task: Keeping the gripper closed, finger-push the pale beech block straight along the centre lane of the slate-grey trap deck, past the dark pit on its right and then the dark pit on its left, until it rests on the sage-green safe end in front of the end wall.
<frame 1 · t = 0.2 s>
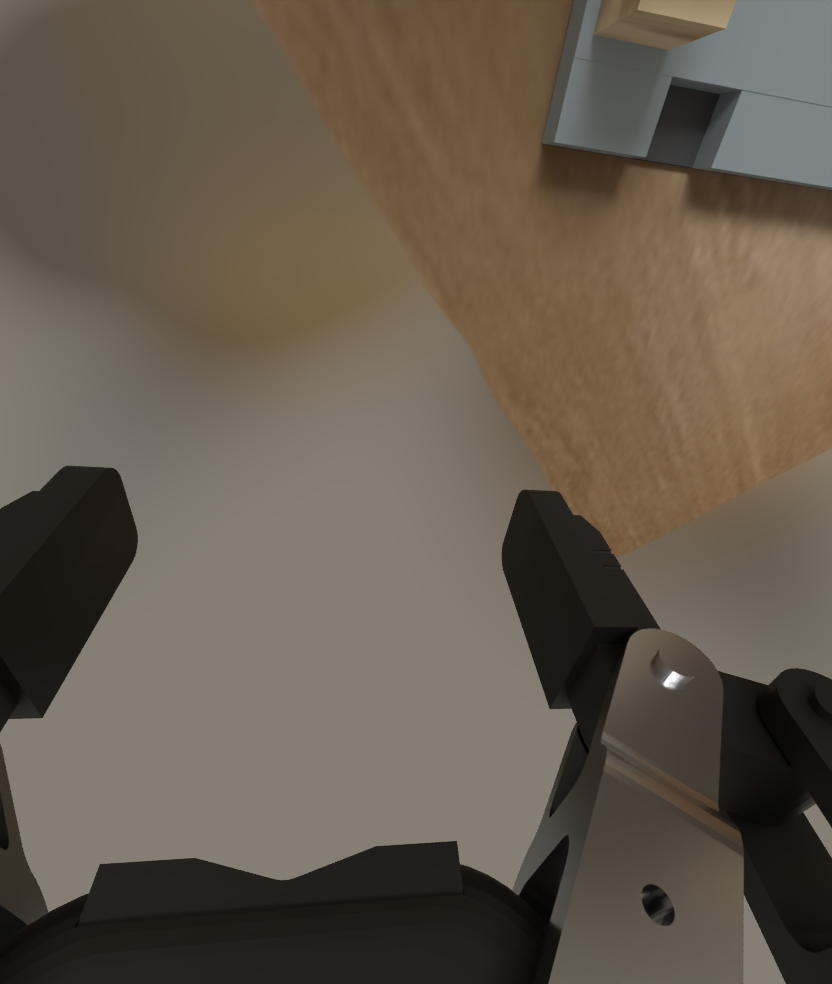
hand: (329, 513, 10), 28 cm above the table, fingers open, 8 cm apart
trap deck: (796, 33, 27), on the table
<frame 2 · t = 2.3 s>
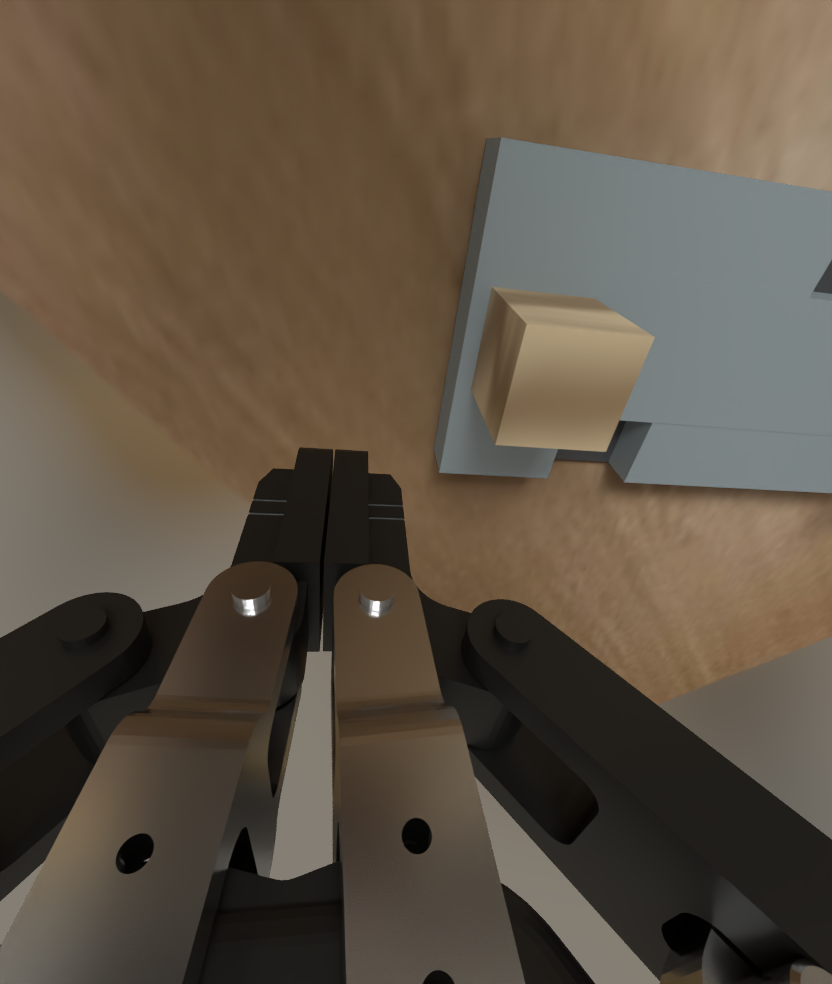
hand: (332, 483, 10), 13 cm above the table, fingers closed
beech block: (529, 346, 20), point 2 cm above the table, touching trap deck
trap deck: (717, 349, 24), on the table
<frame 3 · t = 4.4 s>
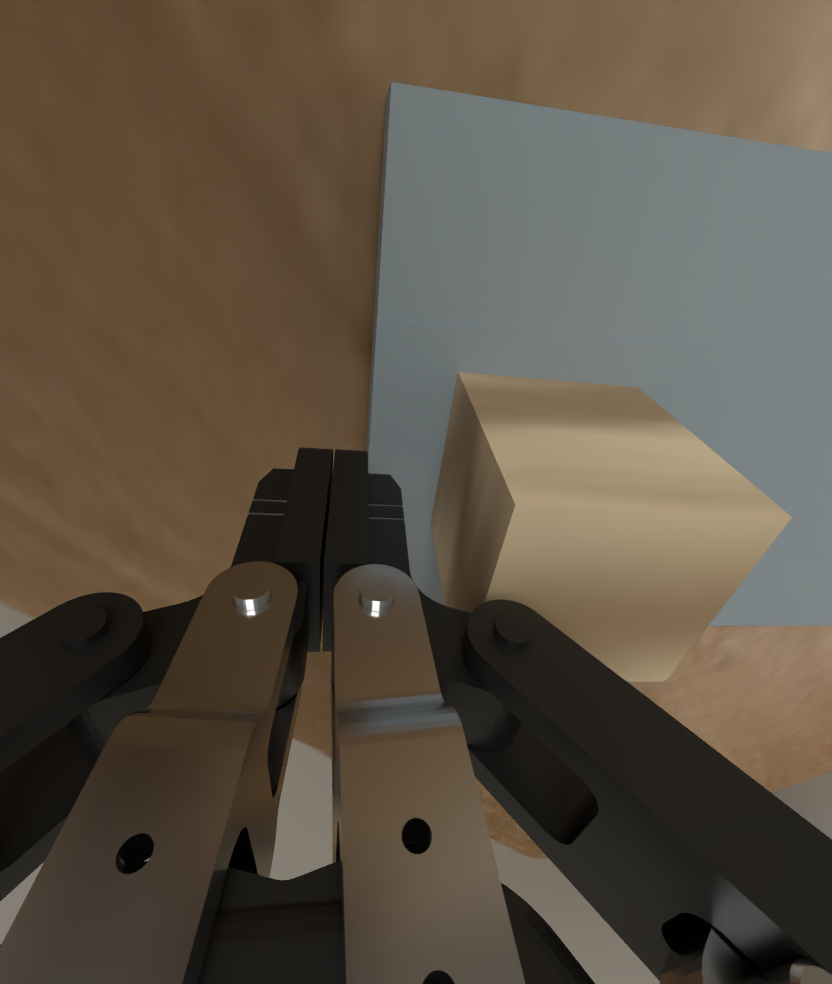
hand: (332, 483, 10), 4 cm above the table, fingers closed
beech block: (525, 460, 12), point 2 cm above the table
trap deck: (786, 434, 15), on the table
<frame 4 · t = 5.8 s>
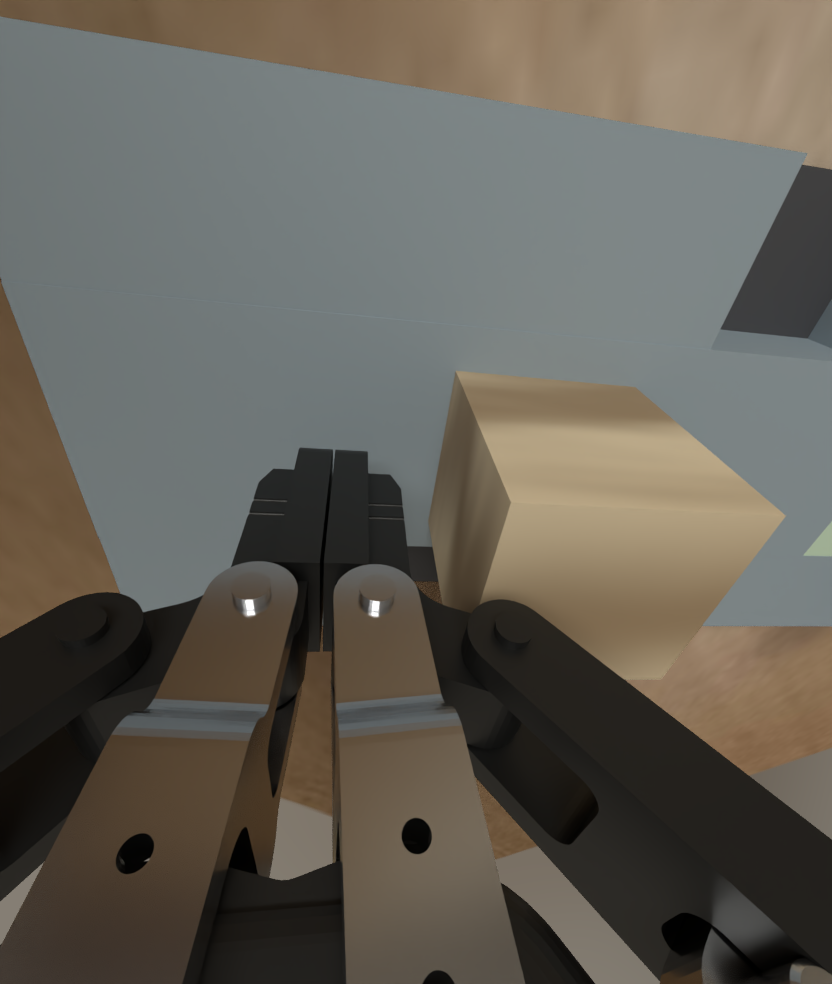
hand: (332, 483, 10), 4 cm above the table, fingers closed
beech block: (523, 459, 12), point 2 cm above the table, touching trap deck
trap deck: (586, 422, 14), on the table
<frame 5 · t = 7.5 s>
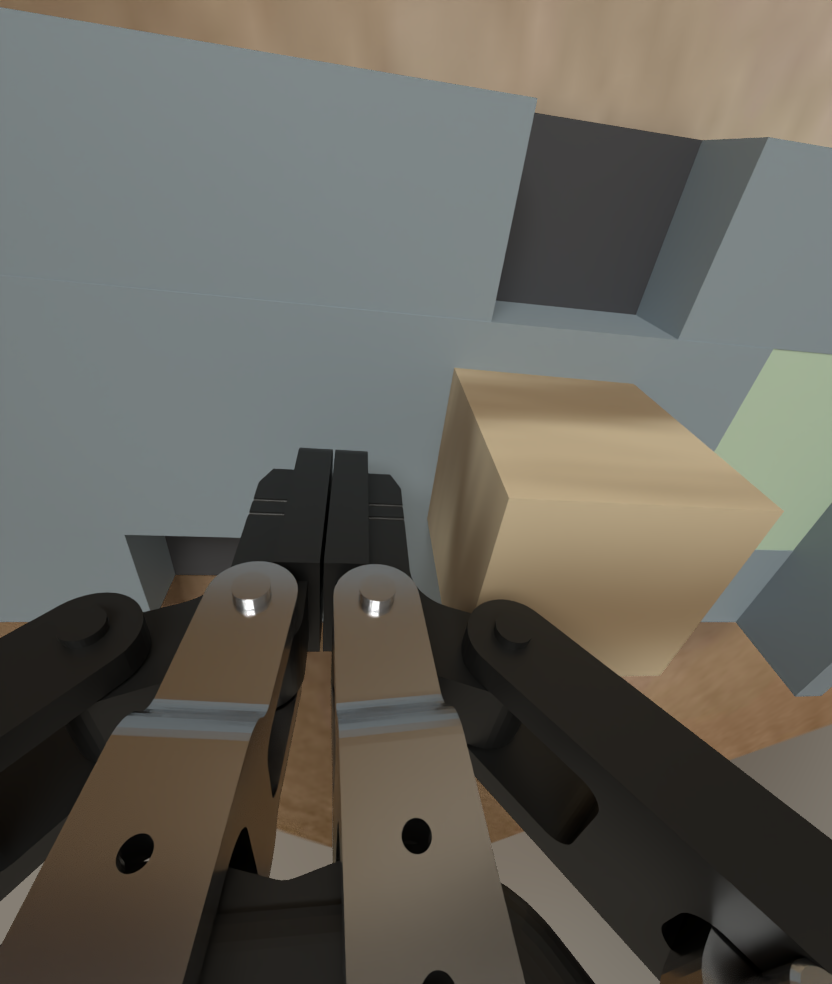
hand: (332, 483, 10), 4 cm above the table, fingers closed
beech block: (522, 456, 12), point 2 cm above the table, touching trap deck
trap deck: (418, 406, 14), on the table
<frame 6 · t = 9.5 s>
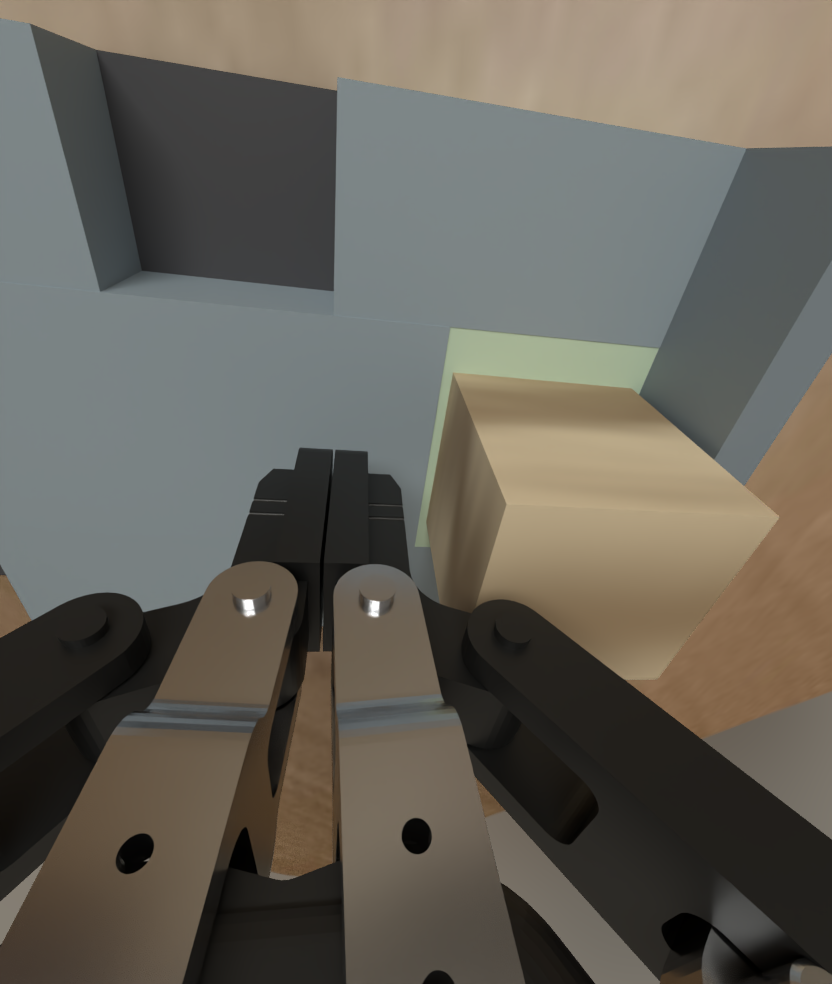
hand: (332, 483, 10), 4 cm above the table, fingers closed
beech block: (520, 460, 12), point 2 cm above the table, touching gripper, trap deck
trap deck: (133, 392, 13), on the table
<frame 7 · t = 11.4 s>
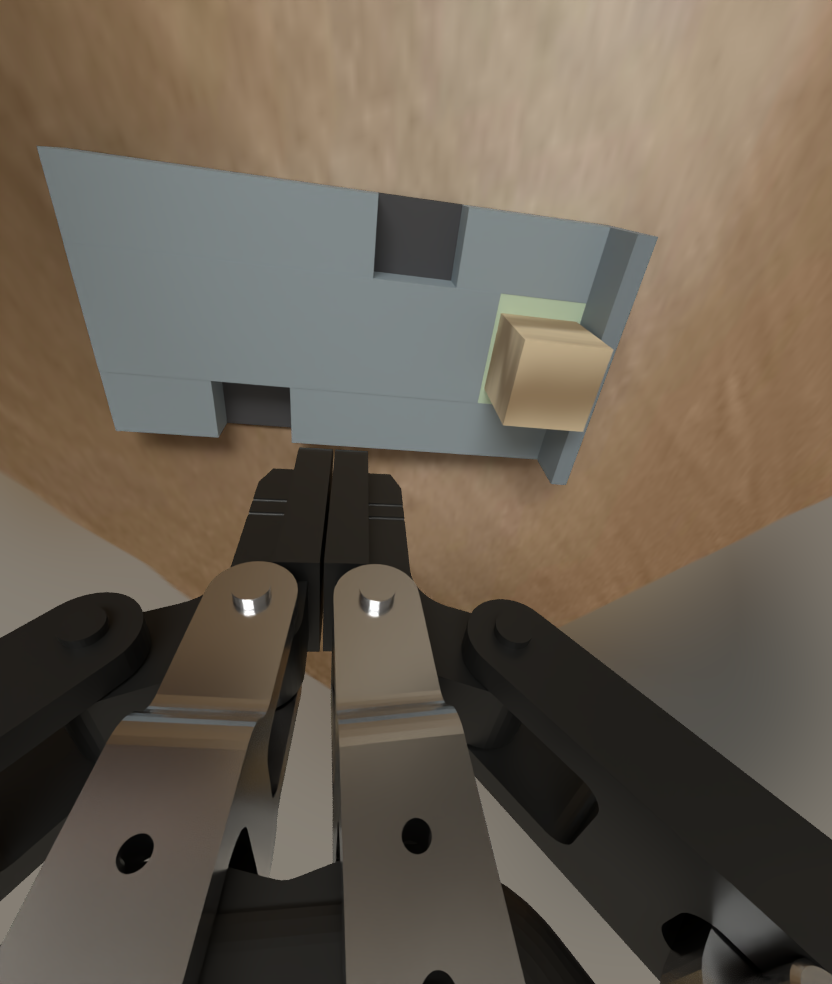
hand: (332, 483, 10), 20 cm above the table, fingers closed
beech block: (528, 356, 27), point 2 cm above the table, touching trap deck
trap deck: (352, 326, 28), on the table
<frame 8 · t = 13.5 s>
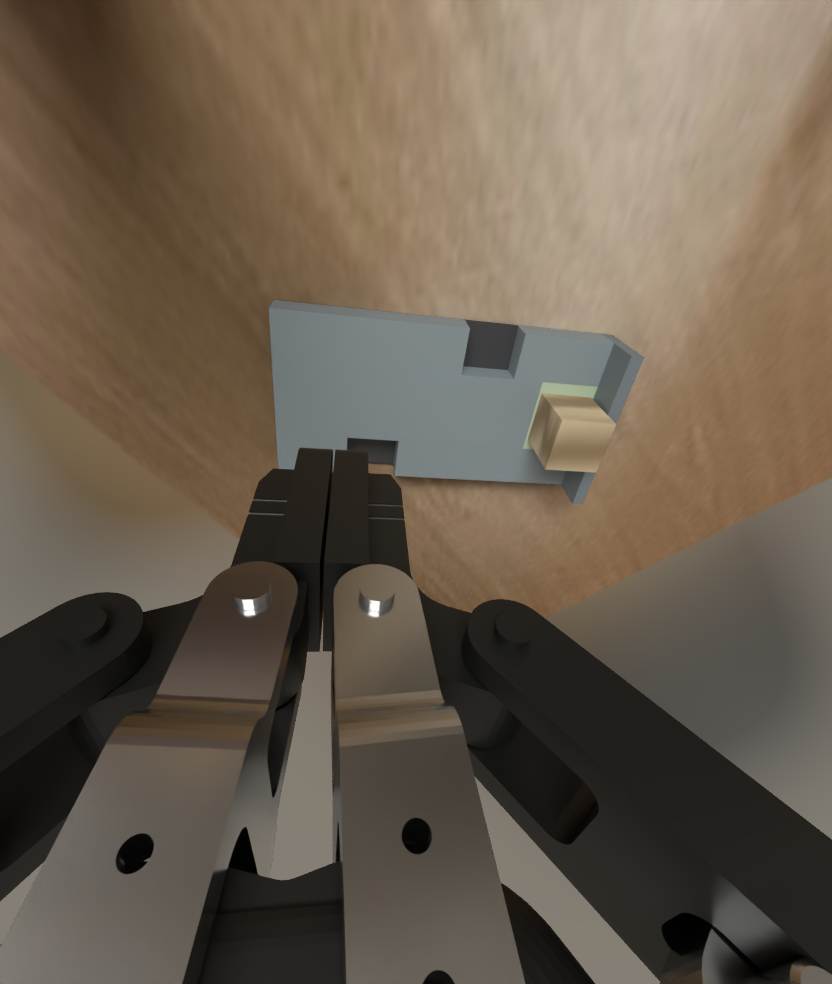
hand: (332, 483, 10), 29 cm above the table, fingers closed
beech block: (558, 418, 41), point 2 cm above the table, touching trap deck
trap deck: (439, 398, 41), on the table
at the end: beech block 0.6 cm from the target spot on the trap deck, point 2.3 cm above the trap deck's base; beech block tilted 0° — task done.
